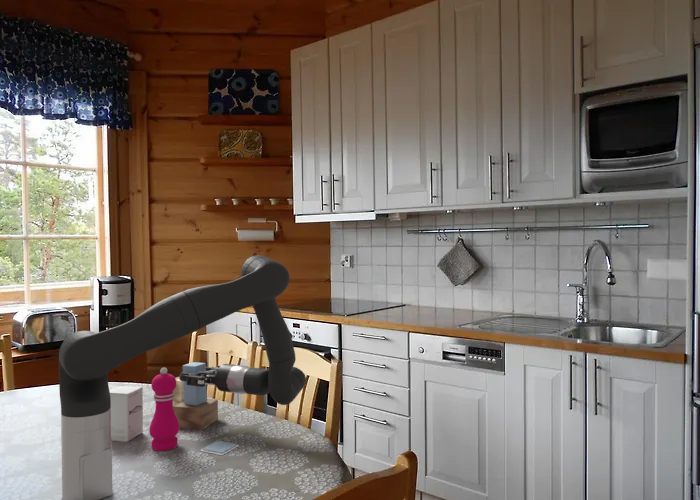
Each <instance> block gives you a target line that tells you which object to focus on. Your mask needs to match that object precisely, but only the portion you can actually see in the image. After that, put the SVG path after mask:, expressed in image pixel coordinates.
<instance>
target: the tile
mask: <svg viewBox="0 0 700 500" xmlns="http://www.w3.org/2000/svg"><path fill="white" fill-rule="evenodd" d="M238 447H240V445H239V444H237V443H231V442H228V441H227V442H225V441H220V440H217V441H215V442H213V443H211V444H209V445H207V446H205V447H203V448H201V449H200V450H199V452H204V453H208V454H209V453H210V454H214V455H219V456H223V455H225V454H227V453H229V452H231V451H233V450H236V449H237V448H238Z"/></svg>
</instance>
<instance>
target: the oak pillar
mask: <svg viewBox="0 0 700 500" xmlns="http://www.w3.org/2000/svg"><path fill="white" fill-rule="evenodd" d="M175 379H176V388H175V389H174V390H173V392H174V393H175V394H174V396H175V397H174V399H173V406H175V405H177V404H179V403H181V402H183V401H184V388H183V381H180V379H179V376H177V377H175Z"/></svg>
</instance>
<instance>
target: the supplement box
mask: <svg viewBox="0 0 700 500" xmlns="http://www.w3.org/2000/svg"><path fill="white" fill-rule="evenodd" d="M109 392H110V397H111V442H124V443H128V442H130V440H132V439H134V438H136V437H137V436H139V435H141V434H143V432H144V429H143V427H144V413H143V412H144V411H143V409H144V406H143V405H144V403H143V402H144V401H143V396H144V395H143V386H126V385H125V386H123V385H122V386H121V385H120V386H116V387H114V388H112V389H109Z"/></svg>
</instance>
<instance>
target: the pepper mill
mask: <svg viewBox="0 0 700 500" xmlns="http://www.w3.org/2000/svg"><path fill="white" fill-rule="evenodd" d="M175 378H176V377H175V376H174V375H173V374H171V373H168V368H167V367H161V368H160V370H159V374H157V375H156V376H154V377H153V379H152V381H151V385H150V386H151V389H152V391H153V392H154V394H153V400H154V402H155V409H154V410H155V411H154V413H153V417H152V419H151V421H150V425H149V435H150V436H151V437H152V440H151V449H152V450H154V451H158V452H161V451H163V452H164V451H169V450H174V449H175V448H177V447H178V445H179V444H178V443H179V442H178V437H177V435H178V433H179V432H180V427H179V422H178V419H177V417H176V415H175V413H174V409H173V399H174V397H175V396H174V394H175V393H174V392H173V390H174V389H175V388H176V379H175Z"/></svg>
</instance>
